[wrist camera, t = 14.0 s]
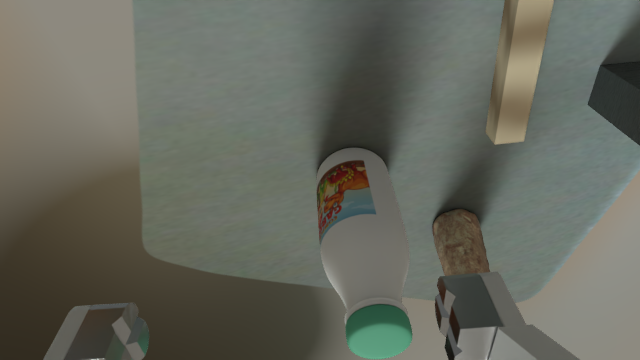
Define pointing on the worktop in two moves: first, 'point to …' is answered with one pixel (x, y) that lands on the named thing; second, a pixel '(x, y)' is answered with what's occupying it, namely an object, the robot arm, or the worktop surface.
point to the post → (619, 97)
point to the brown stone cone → (460, 243)
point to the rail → (517, 68)
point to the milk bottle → (364, 250)
